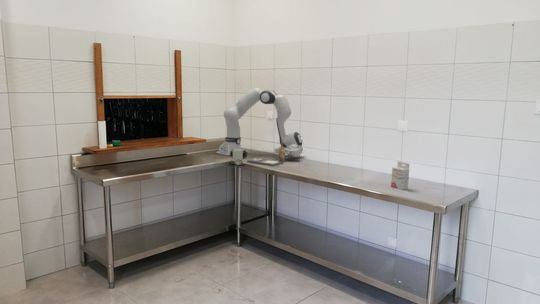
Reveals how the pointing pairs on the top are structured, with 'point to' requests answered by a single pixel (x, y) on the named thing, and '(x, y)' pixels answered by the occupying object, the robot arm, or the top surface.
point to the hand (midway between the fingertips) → (281, 152)
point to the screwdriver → (281, 153)
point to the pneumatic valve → (238, 155)
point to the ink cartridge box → (400, 176)
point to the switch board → (265, 162)
